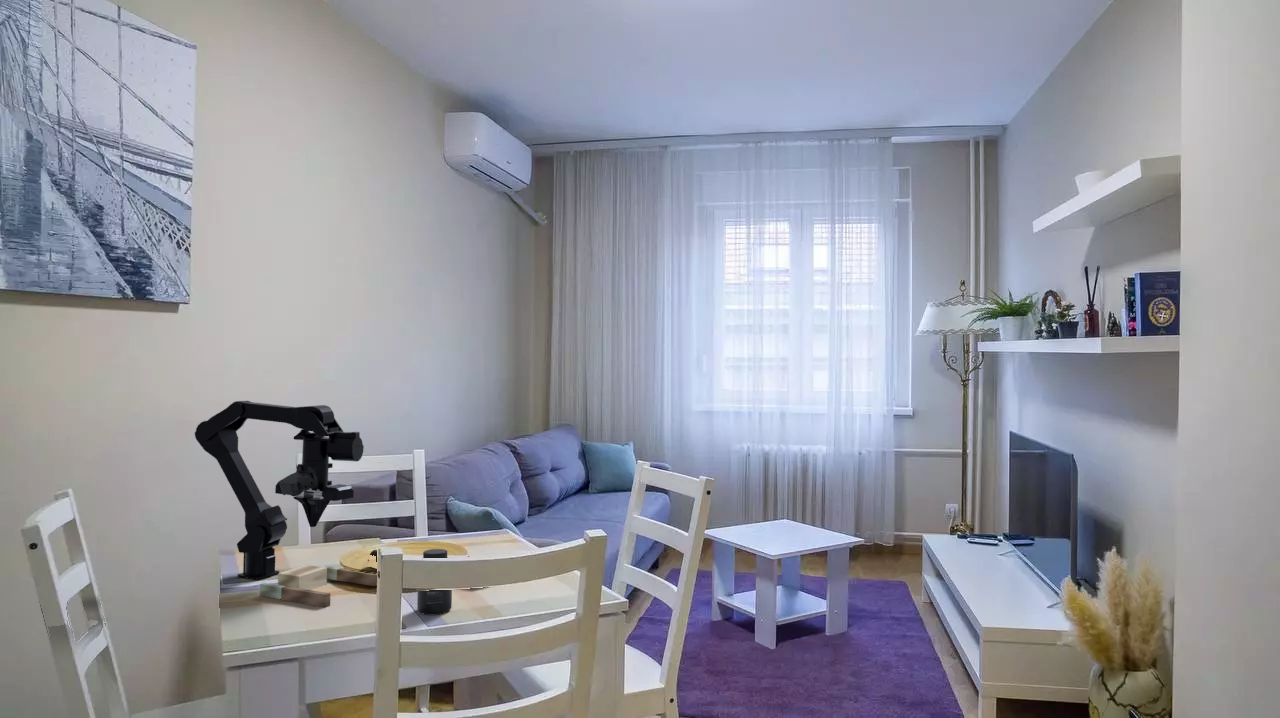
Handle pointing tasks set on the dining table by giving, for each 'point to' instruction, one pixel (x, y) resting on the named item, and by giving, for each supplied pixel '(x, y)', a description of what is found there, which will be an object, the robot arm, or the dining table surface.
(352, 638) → the dining table surface
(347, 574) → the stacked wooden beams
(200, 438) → the robot arm
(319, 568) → the light wood block
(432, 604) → the supplement bottle
